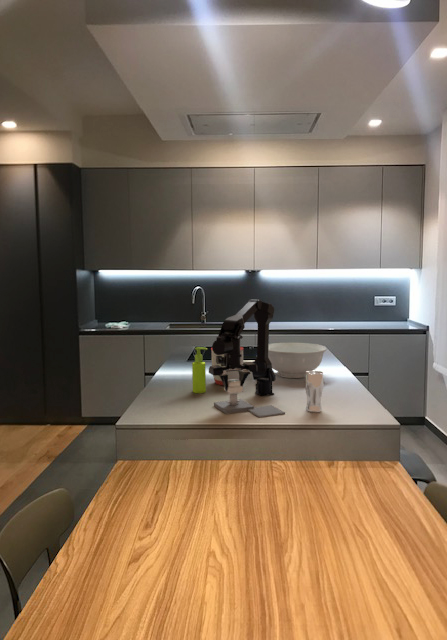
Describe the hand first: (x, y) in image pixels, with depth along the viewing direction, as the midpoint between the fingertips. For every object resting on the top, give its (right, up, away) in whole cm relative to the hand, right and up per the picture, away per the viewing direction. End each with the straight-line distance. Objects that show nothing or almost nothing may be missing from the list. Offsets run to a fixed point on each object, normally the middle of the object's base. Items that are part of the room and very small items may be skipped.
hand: (233, 390), depth 201 cm
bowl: (+32, -1, +59) cm, 67 cm away
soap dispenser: (-14, -5, +27) cm, 31 cm away
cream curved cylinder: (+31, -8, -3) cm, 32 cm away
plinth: (0, -7, +1) cm, 7 cm away
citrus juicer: (-2, -3, +43) cm, 43 cm away
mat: (+12, -8, -5) cm, 15 cm away
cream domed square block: (0, 0, 0) cm, 0 cm away
